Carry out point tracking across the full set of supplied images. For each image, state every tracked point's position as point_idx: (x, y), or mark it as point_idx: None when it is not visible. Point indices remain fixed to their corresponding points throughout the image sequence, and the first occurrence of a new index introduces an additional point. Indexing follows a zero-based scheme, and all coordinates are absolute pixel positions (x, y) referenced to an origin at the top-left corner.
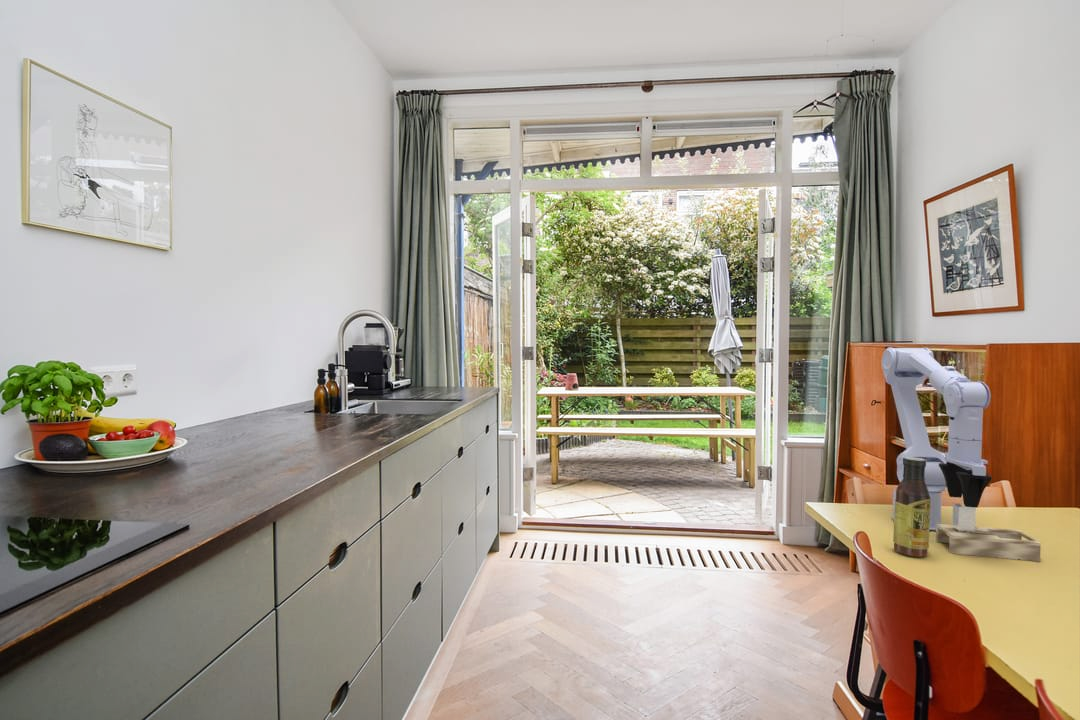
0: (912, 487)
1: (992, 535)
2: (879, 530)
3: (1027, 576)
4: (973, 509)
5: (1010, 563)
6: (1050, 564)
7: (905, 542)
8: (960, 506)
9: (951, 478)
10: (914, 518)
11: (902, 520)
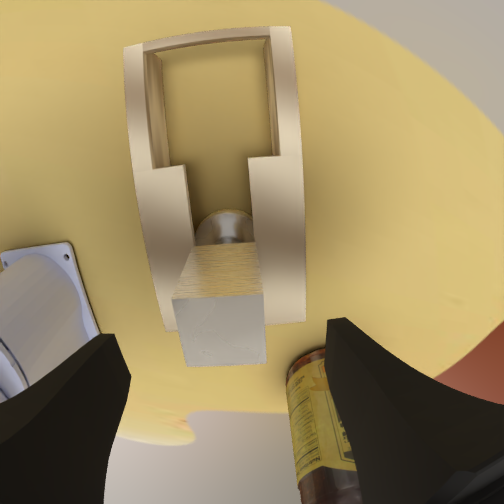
0: None
1: (252, 174)
2: (157, 396)
3: (423, 151)
4: (262, 298)
5: (334, 146)
6: (296, 30)
7: None
8: (254, 355)
9: (90, 460)
10: None
11: None
